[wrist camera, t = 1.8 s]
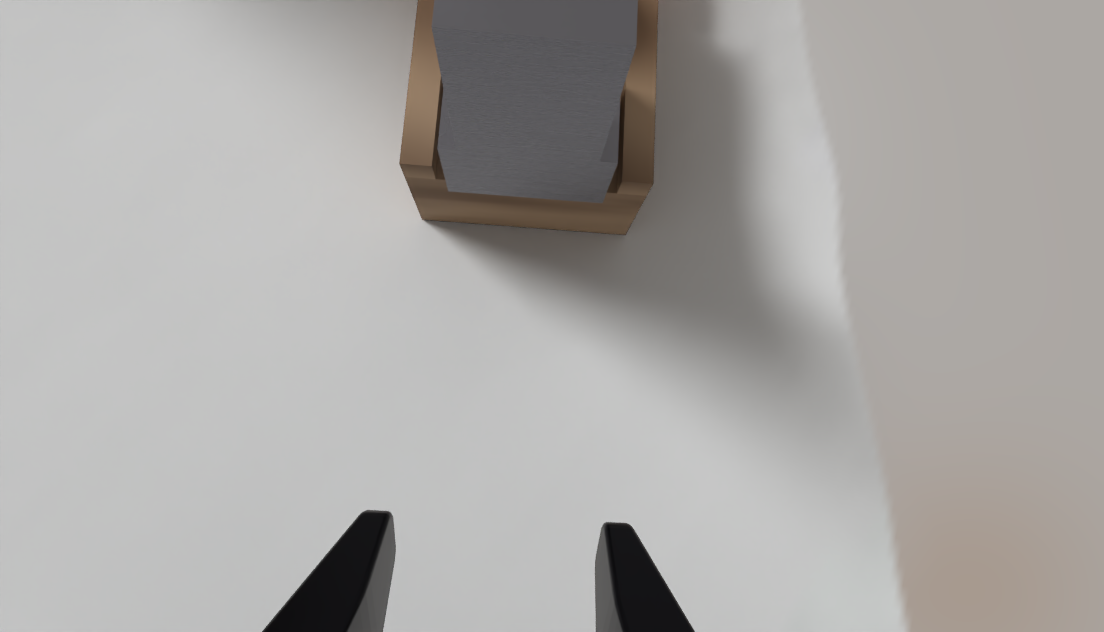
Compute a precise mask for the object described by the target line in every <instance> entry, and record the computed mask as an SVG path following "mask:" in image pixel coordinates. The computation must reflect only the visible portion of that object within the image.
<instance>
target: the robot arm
mask: <svg viewBox="0 0 1104 632" xmlns="http://www.w3.org/2000/svg"><path fill="white" fill-rule="evenodd" d="M395 552H396V545H395V533H394V522H393V516H392V514H391V512H389V511H377V510H366V511H364V512H362V513H361V514H360V515H359V516H358V517H357V519H356V520H355V521H354V522H353V523H352V524H351V526H350V527H349V528H348V529H347V530H346V532H345V533H344V534H343V535H342V536H341V538H340V539H339V540H338V541H337V542H336V544H335V545H334V546H333V547H332V548H331V550H330V551H329V552H328V553H327V554H326V556H325V557H324V558H323V559H322V560H321V562H320V563H319V564H318V565H317V566H316V568H315V569H314V570H313V571H312V572H311V574H310V575H309V576H308V577H307V578H306V580H305V581H304V582H303V583H302V584H301V586H300V587H299V588H298V589H297V590H296V592H295V593H294V594H293V595H292V596H291V598H290V599H289V600H288V601H287V602H286V604H285V605H284V606H283V607H282V608H281V610H280V611H279V612H278V613H277V614H276V616H275V617H274V618H273V619H272V620H271V622H270V623H269V624H268V625H267V626H266V628H265V629H264V630H263V631H262V632H383V627H384V621H385V615H386V609H387V603H388V597H389V591H390V585H391V580H392V574H393V568H394V562H395ZM595 602H596V632H695V631H694V630H693V628H692V626H691V624H690V623H689V621H688V619H687V618H686V616H685V614H684V613H683V611H682V609H681V608H680V606H679V604H678V603H677V601H676V599H675V598H674V596H673V594H672V593H671V591H670V589H669V588H668V586H667V584H666V582H665V581H664V579H663V577H662V576H661V574H660V572H659V571H658V569H657V567H656V566H655V564H654V562H653V561H652V559H651V557H650V556H649V554H648V552H647V551H646V549H645V547H644V546H643V544H642V542H641V540H640V539H639V537H638V535H637V534H636V532H635V530H634V529H633V527H632V526H631V525H629V524H627V523H614V522H606V523H604V524H603V526H602V528H601V533H600V538H599V543H598V548H597V553H596V560H595Z"/></svg>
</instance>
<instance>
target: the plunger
mask: <svg viewBox="0 0 1104 632" xmlns="http://www.w3.org/2000/svg"><path fill="white" fill-rule="evenodd" d="M637 12H638V0H434V8H433V18H432V32H433V37H434V42H435V47H436V53H437V58H438V63H439V68H440V73H441V78H442V83H443V98H442V107H441V117H440V127H439V137H438V147H437V149H438V153H439V157H440V161H441V165H442V169H443V173H444V177H445V180H446V184H447V188H448V191H449V192H462V193H475V194H488V195H501V196H513V197H526V198H539V199H552V200H565V201H578V202H591V203H603V201H604V198H605V195H606V193H607V190H608V188H609V185H610V182H611V180H612V177H613V174H614V172H615V169H616V166H617V164H618V143H619V117H620V96H621V93H622V90H623V87H624V83H625V80H626V77H627V74H628V71H629V68H630V64H631V61H632V58H633V55H634V52H635V48H636V42H637Z"/></svg>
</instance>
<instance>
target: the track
mask: <svg viewBox="0 0 1104 632" xmlns="http://www.w3.org/2000/svg"><path fill="white" fill-rule="evenodd" d="M433 8H434V0H418V5H417V14H416V22H415V31H414V40H413V49H412V57H411V66H410V75H409V84H408V93H407V101H406V110H405V119H404V128H403V136H402V145H401V154H400V163H399V164H400V166H401V169H402V171H403V174H404V176H405V179H406V181H407V183H408V186H409V188H410V191H411V193H412V196H413V198H414V201H415V203H416V205H417V208H418V210H419V213H420V215H421V218H422V220H436V221H449V222H462V223H475V224H489V225H502V226H515V227H528V228H542V229H555V230H568V231H582V232H595V233H608V234H621V235H626V233H627V231H628V229H629V227H630V225H631V224H632V222H633V220H634V218H635V216H636V214H637V213H638V211H639V209H640V207H641V205H642V204H643V202H644V200H645V198H646V196H647V194H648V193H649V191H650V189H651V187H652V185H653V178H654V139H655V101H656V62H657V24H658V0H638V12H637V42H636V48H635V52H634V55H633V58H632V61H631V64H630V68H629V71H628V74H627V77H626V80H625V83H624V87H623V90H622V93H621V96H620V117H619V143H618V164H617V166H616V169H615V172H614V174H613V177H612V180H611V182H610V185H609V188H608V190H607V193H606V195H605V198H604V201H603V203H591V202H578V201H565V200H552V199H539V198H526V197H513V196H501V195H488V194H475V193H462V192H449V191H448V188H447V184H446V180H445V177H444V173H443V169H442V165H441V161H440V157H439V153H438V149H437V147H438V137H439V127H440V117H441V107H442V98H443V83H442V78H441V73H440V68H439V63H438V58H437V53H436V47H435V42H434V37H433V32H432V18H433Z"/></svg>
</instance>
